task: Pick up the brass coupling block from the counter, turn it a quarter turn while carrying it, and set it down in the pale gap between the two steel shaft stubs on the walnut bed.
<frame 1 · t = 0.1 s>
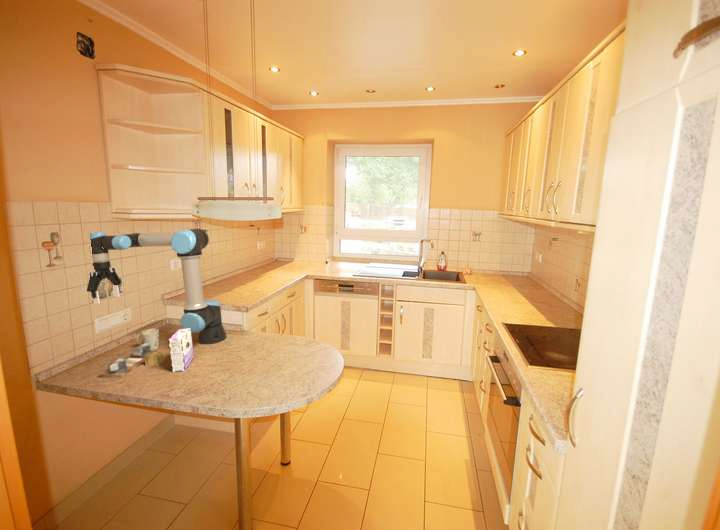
hand: (107, 300, 182), 28 cm above the table, fingers open, 13 cm apart
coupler: (155, 363, 167), on the table
mug: (148, 348, 186), on the table
shaft bed: (130, 364, 167), on the table
candy box: (183, 365, 164), on the table
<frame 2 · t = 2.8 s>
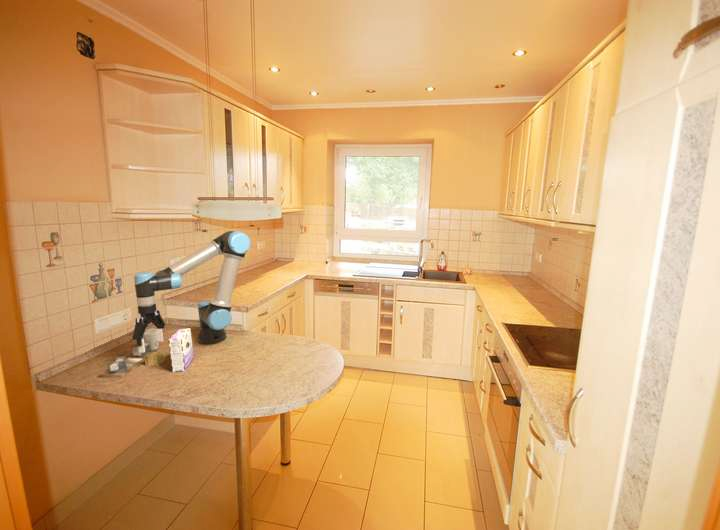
hand: (151, 346, 166), 9 cm above the table, fingers open, 13 cm apart
nothing on the table moved.
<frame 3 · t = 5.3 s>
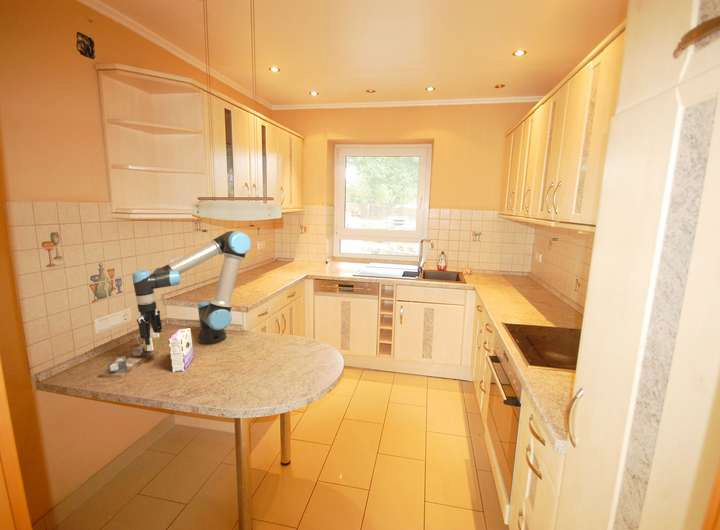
hand: (154, 347, 166), 8 cm above the table, fingers closed on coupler, 5 cm apart
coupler: (154, 348, 167), point 8 cm above the table, touching gripper
everything else where it was.
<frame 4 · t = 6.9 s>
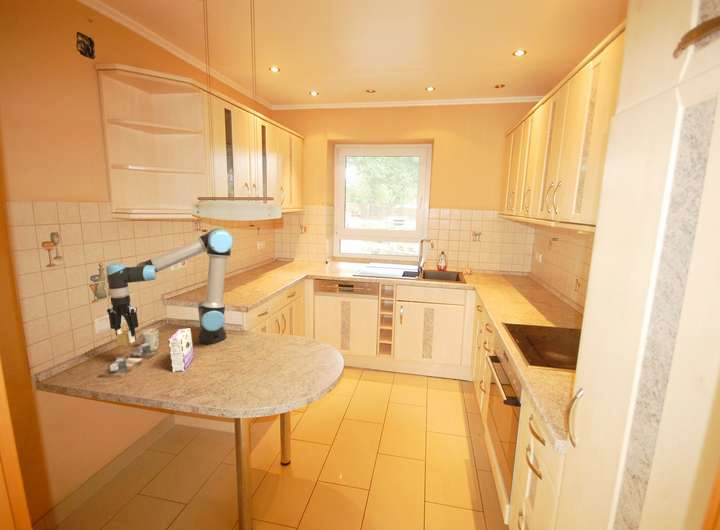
hand: (126, 341, 165), 12 cm above the table, fingers closed on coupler, 5 cm apart
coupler: (127, 342, 165), point 11 cm above the table, touching gripper
everything else where it was.
when the fingers open (2 cm above the table, at t = 8.5 s): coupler stays where it is, resting on shaft bed.
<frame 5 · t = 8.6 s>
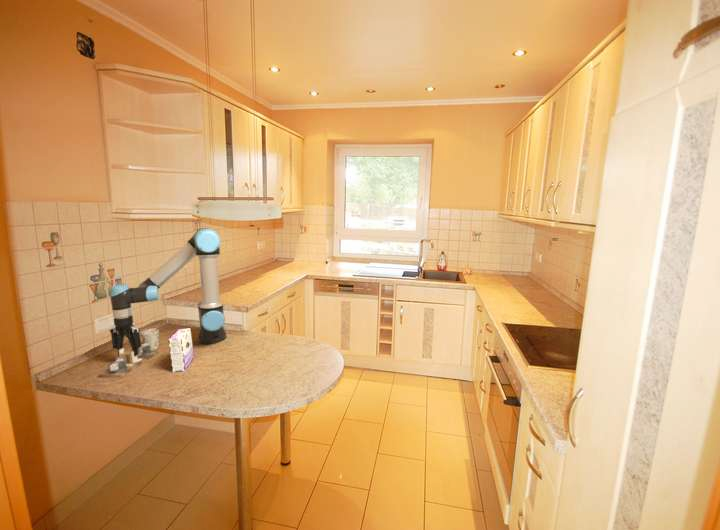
hand: (129, 361, 167), 2 cm above the table, fingers open, 5 cm apart
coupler: (129, 361, 167), point 1 cm above the table, touching gripper, shaft bed
everything else where it was.
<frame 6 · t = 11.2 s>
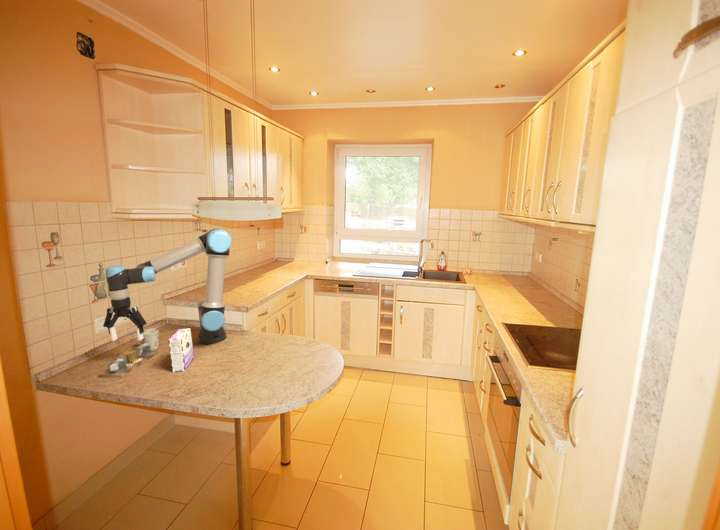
hand: (127, 339, 165), 13 cm above the table, fingers open, 13 cm apart
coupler: (129, 361, 167), point 1 cm above the table, touching shaft bed
everything else where it was.
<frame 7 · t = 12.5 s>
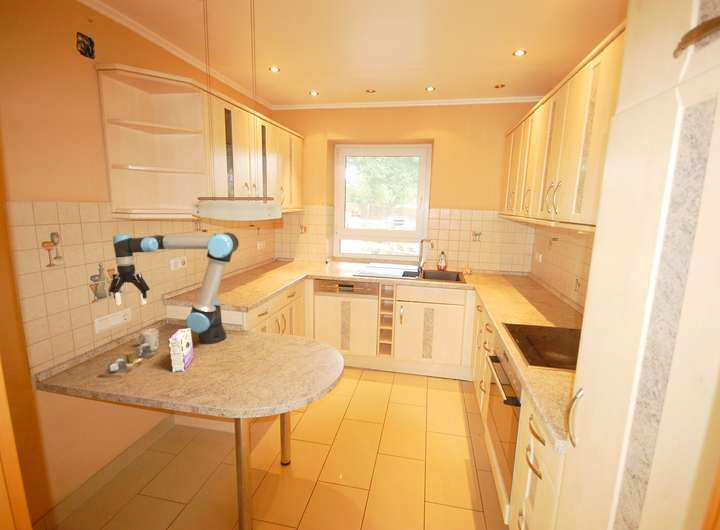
hand: (131, 304, 177), 27 cm above the table, fingers open, 13 cm apart
nothing on the table moved.
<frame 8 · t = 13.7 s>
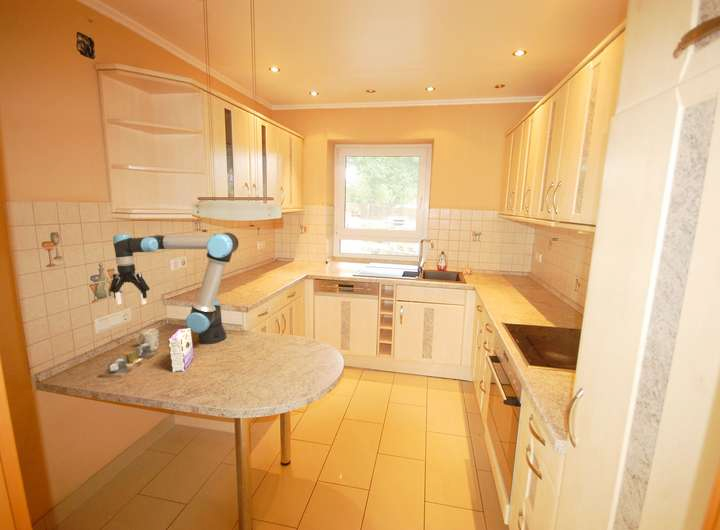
hand: (131, 304, 177), 27 cm above the table, fingers open, 13 cm apart
nothing on the table moved.
at the end: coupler 0.1 cm off-centre on the shaft bed, point 1.2 cm above the shaft bed's base; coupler tilted 0°; the gripper is holding nothing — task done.
